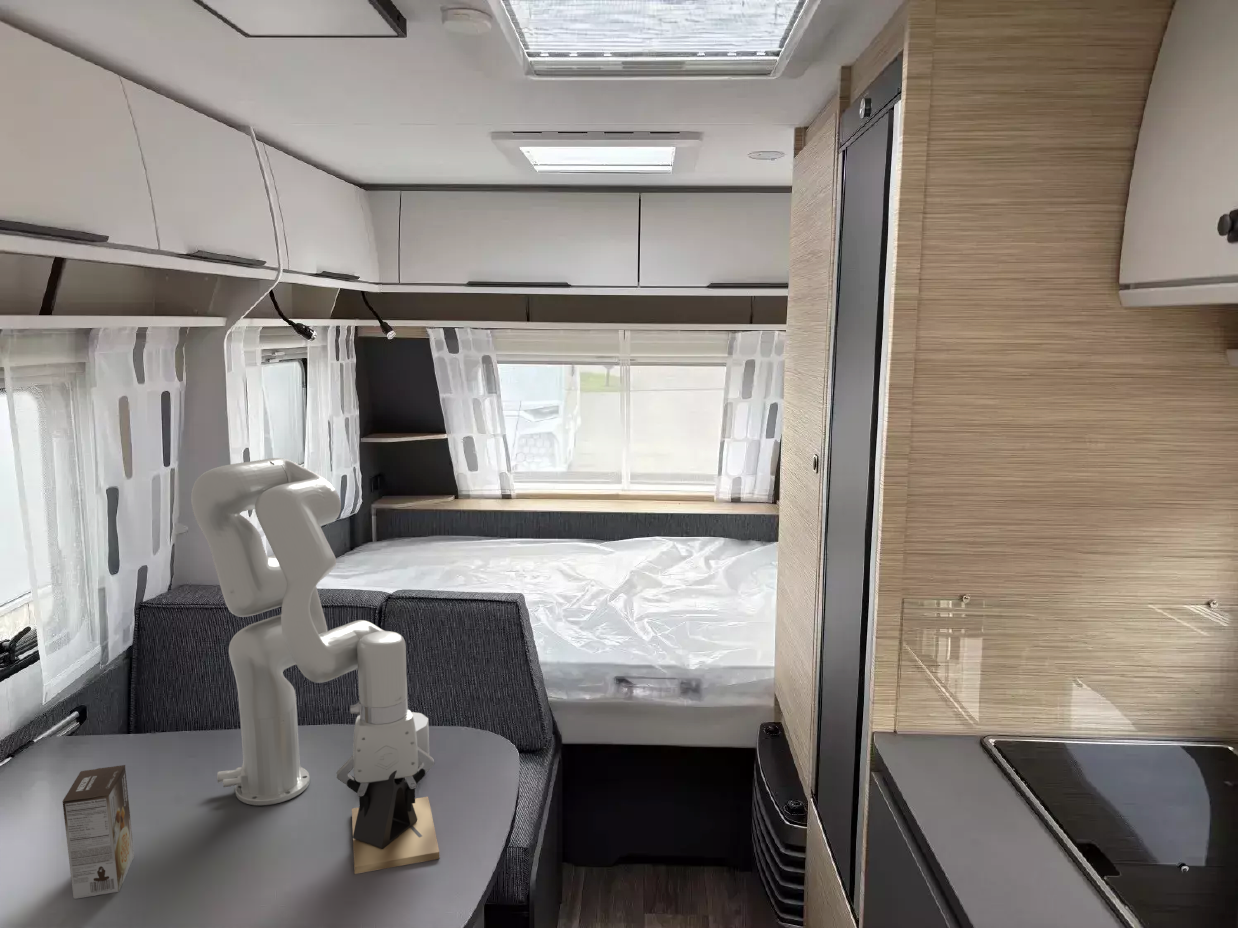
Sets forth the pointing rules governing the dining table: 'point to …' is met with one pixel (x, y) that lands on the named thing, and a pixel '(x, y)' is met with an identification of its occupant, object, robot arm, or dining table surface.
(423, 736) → the toilet tissue
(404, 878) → the dining table surface
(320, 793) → the dining table surface
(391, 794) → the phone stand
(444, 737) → the dining table surface
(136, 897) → the dining table surface
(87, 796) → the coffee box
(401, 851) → the marked board
